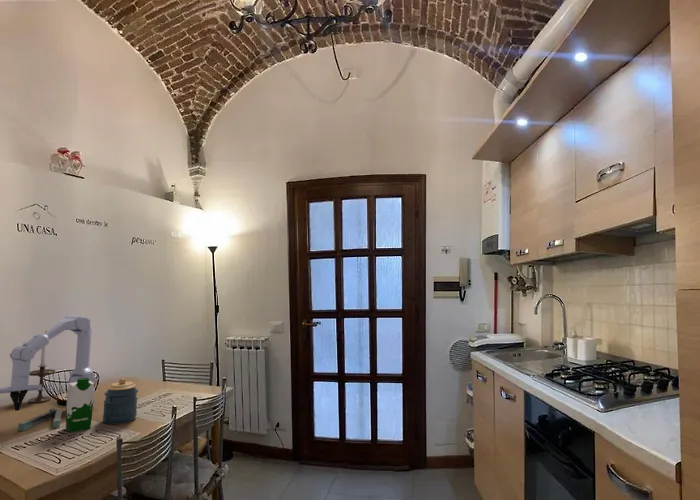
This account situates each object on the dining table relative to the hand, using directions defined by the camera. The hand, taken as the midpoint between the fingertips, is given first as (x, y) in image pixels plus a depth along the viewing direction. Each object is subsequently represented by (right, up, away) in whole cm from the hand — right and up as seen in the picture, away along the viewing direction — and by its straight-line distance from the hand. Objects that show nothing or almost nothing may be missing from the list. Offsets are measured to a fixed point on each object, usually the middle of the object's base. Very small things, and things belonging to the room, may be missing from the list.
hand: (17, 410), depth 166 cm
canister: (+36, -9, +11) cm, 38 cm away
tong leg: (+5, -7, +4) cm, 9 cm away
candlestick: (-19, -10, +37) cm, 43 cm away
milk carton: (+25, -8, -1) cm, 26 cm away
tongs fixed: (+10, -8, +7) cm, 14 cm away
